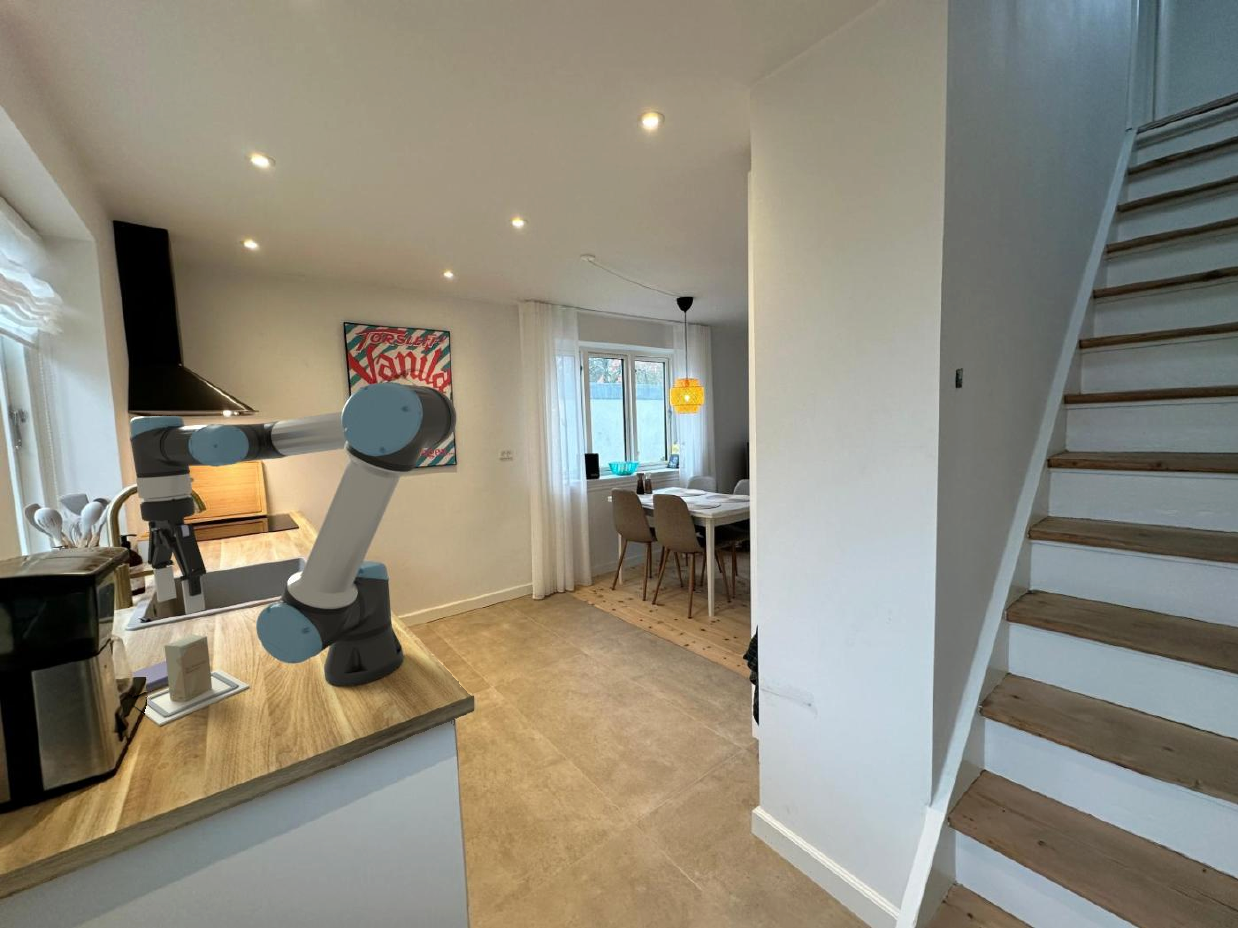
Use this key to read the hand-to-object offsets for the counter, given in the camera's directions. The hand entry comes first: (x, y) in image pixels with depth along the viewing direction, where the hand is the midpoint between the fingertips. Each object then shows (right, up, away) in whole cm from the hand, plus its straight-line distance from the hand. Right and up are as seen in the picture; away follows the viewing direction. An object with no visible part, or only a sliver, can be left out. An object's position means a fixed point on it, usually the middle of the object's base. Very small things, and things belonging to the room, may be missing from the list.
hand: (180, 605), depth 95 cm
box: (+1, -18, +2) cm, 18 cm away
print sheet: (0, -18, +2) cm, 19 cm away
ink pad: (-13, -18, +9) cm, 24 cm away
